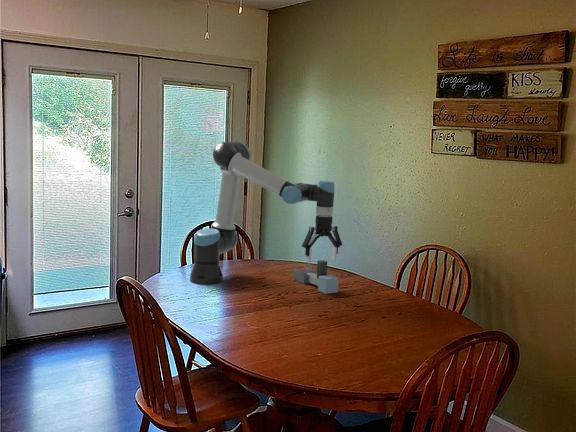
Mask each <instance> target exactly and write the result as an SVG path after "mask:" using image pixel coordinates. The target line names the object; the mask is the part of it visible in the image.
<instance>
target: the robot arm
mask: <svg viewBox="0 0 576 432" xmlns="http://www.w3.org/2000/svg"><path fill="white" fill-rule="evenodd" d="M213 148H214V149H213V151H212V158H213V161H214V163H215V164H216V165H217V166H218V167H219V169H220V170H221V172H222V174H221V175H222V176H221V182H220V190H219V195H218V202H217V208H216V209H217V210H216V214H215V215H216V216H215V221H213V223H211V228H202V229H199V230H197V231H195V234H194V239H193V243H194V244H193V245H194V247H193V248H194V249H193V251H194V254H193V257H194V260H193V266H192V268H191V271H190V274H189V275H190V276H189V281H190V282H192V283H195V284H198V285H199V284H200V285H213V284H218V283H222V282H223V280H224V275H223V272H222V268H221V265H220V256H221V255H222V254H225V253H228V252H230V251H232V250H233V249H234V248H235V247H236V246H237V244H238V240H239V239H238V238H239V237H238V233H237V231H236V225H235V224H234V221H235V215H236V214H235V213H236V206H237V203H238V202H237V201H238V194H239V189H240V182H241V177H243V178H245V179H247V180H249V181H251V182H252V183H254V184H256V185H258V186H260V187H262V188H263V189H265V190H267V191H269V192H271V193H273V194H274V195H276V196H279V197H280V198H281V199H282V200H283V202H284V203H286V204H289V205H294V204H298V203H300V202H301V203H302V202H304V201H308V202H316V208H315V215H316V216H315V226H311V225H310V226H309V227H308V231H307V234H306V236H305V238H304V239H303V242H302V244H301V247H302V248H304V249H305V253H304V255H305V257H306V258H305V261H306V262H305V263H306V264H308V265H311V263H312V247H313V246H314V244H315V243H316V242H317V240H318V239H319V238H320V237H327V238H328V239H329V241H330V242H331V243H332V245H333V246H332V247H331V262H335V263H336V262H337V255H338V253H339V248H340V247H341V246H343V242H342V240H341V236H340V234H339V231H338V226H337V225H335V224H333V213H334V201H335V192H336V191H335V182H334V181H330V180H319V181H318V182H317V184H312V183H303V182H294V183H293V182H290V181H288V180H286V179H284V178H283V177H282V176H281V177H280V176H279V175H277V174H276V173H273V172H271V171H270V170H268V169H266V168H264V167H263V166H260V165H259V164H256V163H254V162H253V161H251V158H252V157H251V155H252V154H251V150H250V148H249V146H248V145H247V144H245V143H244V142H240V141H223V142H219V144H217V145H216V146H215V147H213Z"/></svg>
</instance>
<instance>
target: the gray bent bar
mask: <svg viewBox="0 0 576 432" xmlns="http://www.w3.org/2000/svg"><path fill="white" fill-rule="evenodd" d="M316 264H317V265H316V274H314V273H306V281H308V282H310V283H309V284H313V285H315V286H317V287H318V280H319V276H324V275H328V261H327V260H324V259H322V260H317V262H316Z"/></svg>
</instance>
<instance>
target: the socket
mask: <svg viewBox="0 0 576 432" xmlns="http://www.w3.org/2000/svg"><path fill="white" fill-rule="evenodd" d="M317 287H318V288H317V292H321V293H322V294H325V295H326V294H335V293H339V277H338V276H336V275H333V274H327V275H324V276H319V280H318V286H317Z"/></svg>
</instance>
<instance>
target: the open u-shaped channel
mask: <svg viewBox="0 0 576 432" xmlns="http://www.w3.org/2000/svg"><path fill="white" fill-rule="evenodd" d="M293 271H294V272H293V274H294V275H293V276H294V277H293V280H295V281H297V282H299V283H301V284H303V285H306V284H311V283H310V282H308V281H306V273H314V274H316V275H317V270H314V269H312V268H309V267H307V266H305V267H304V271H303V270H302V269H299V268H296V267H295V268H294V270H293Z"/></svg>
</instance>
